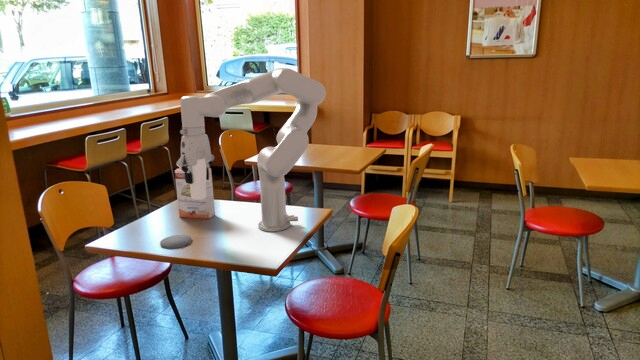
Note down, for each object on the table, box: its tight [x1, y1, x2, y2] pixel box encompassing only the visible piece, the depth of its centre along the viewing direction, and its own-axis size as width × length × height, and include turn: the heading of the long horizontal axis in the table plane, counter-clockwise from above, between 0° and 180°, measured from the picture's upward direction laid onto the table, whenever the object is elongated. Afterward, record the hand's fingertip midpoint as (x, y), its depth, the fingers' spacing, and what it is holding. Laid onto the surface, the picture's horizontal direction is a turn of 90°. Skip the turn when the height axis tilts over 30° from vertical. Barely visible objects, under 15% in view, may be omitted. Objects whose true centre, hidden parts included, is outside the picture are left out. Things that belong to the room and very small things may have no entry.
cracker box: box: [174, 167, 216, 220], centre depth 186 cm, size 14×6×21 cm, turn 77°
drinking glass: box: [187, 158, 207, 200], centre depth 159 cm, size 7×7×15 cm
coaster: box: [159, 234, 193, 250], centre depth 161 cm, size 11×11×1 cm
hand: (197, 180), depth 159 cm, fingers closed on drinking glass, 6 cm apart
